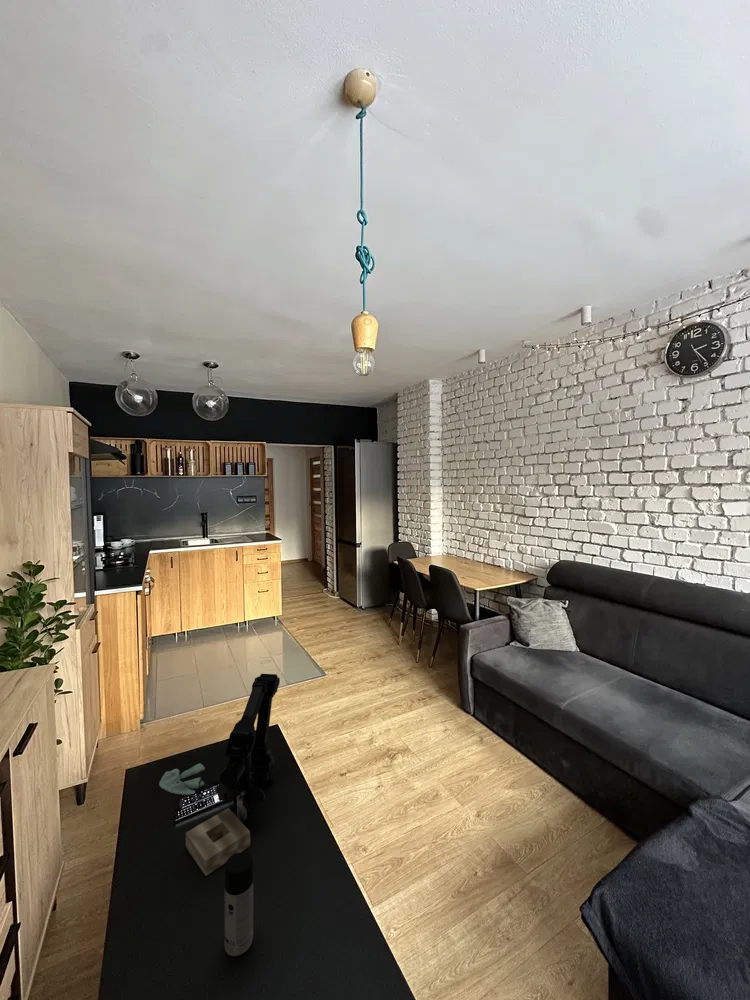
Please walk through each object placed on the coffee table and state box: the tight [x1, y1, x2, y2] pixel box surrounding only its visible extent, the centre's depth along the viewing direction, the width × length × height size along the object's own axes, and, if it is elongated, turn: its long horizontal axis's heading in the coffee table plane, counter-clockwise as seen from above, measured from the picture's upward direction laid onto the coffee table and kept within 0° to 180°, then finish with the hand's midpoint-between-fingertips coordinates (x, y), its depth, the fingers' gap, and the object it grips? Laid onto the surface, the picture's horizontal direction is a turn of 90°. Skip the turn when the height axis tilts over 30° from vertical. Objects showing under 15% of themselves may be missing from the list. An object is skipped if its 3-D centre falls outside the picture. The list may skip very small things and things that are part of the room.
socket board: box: [185, 807, 251, 877], centre depth 129 cm, size 14×14×4 cm
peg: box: [236, 791, 248, 823], centre depth 140 cm, size 4×4×8 cm
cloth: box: [158, 763, 206, 796], centre depth 159 cm, size 20×22×2 cm
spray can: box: [223, 851, 254, 958], centre depth 101 cm, size 7×7×20 cm
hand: (242, 811), depth 140 cm, fingers open, 9 cm apart
